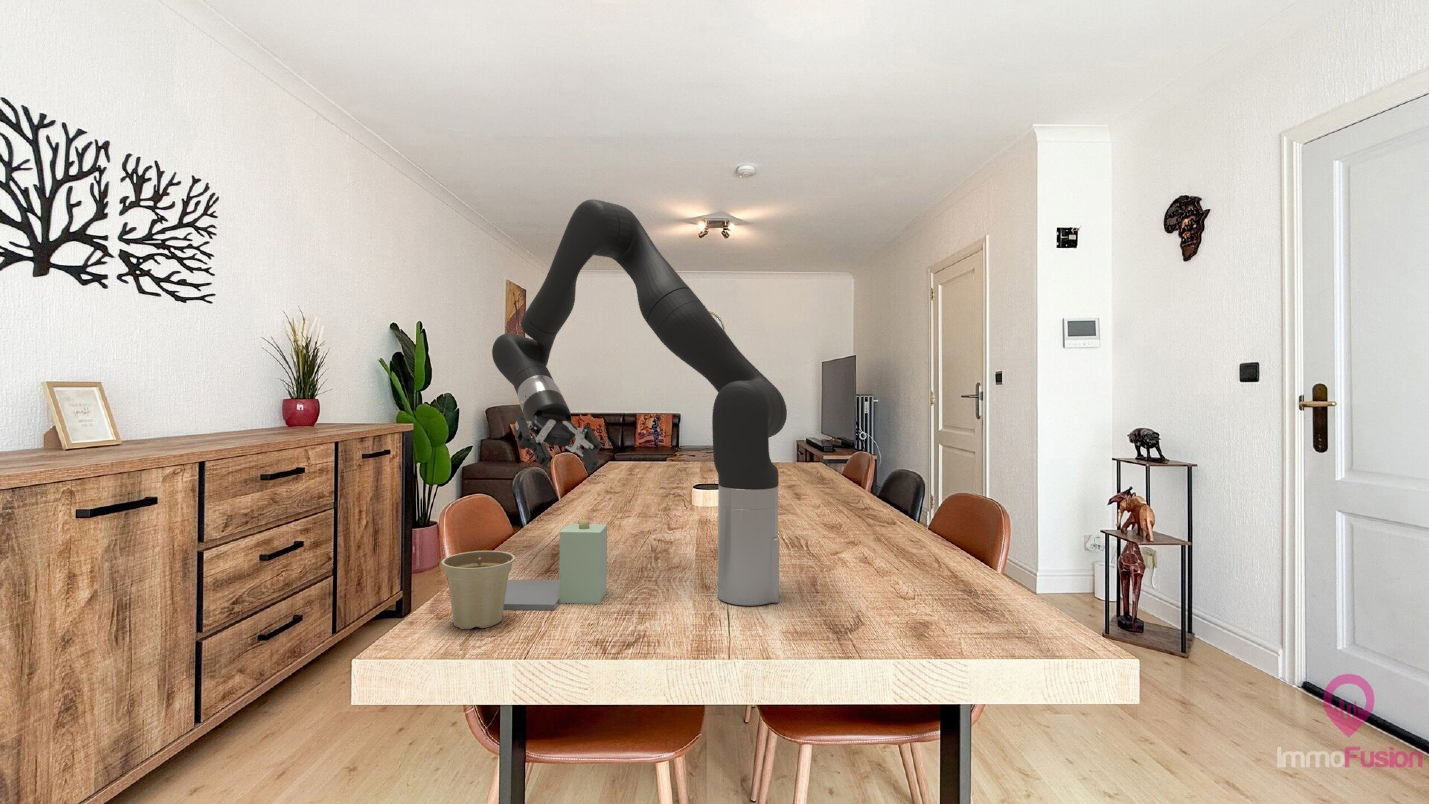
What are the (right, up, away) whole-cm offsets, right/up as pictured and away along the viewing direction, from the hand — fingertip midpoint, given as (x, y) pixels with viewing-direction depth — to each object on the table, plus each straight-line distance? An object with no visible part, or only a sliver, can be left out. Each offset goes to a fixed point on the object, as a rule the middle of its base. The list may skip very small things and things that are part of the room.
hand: (570, 465), depth 106 cm
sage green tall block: (+4, -19, -7) cm, 21 cm away
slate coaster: (-5, -19, -7) cm, 21 cm away
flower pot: (-9, -20, -18) cm, 28 cm away
